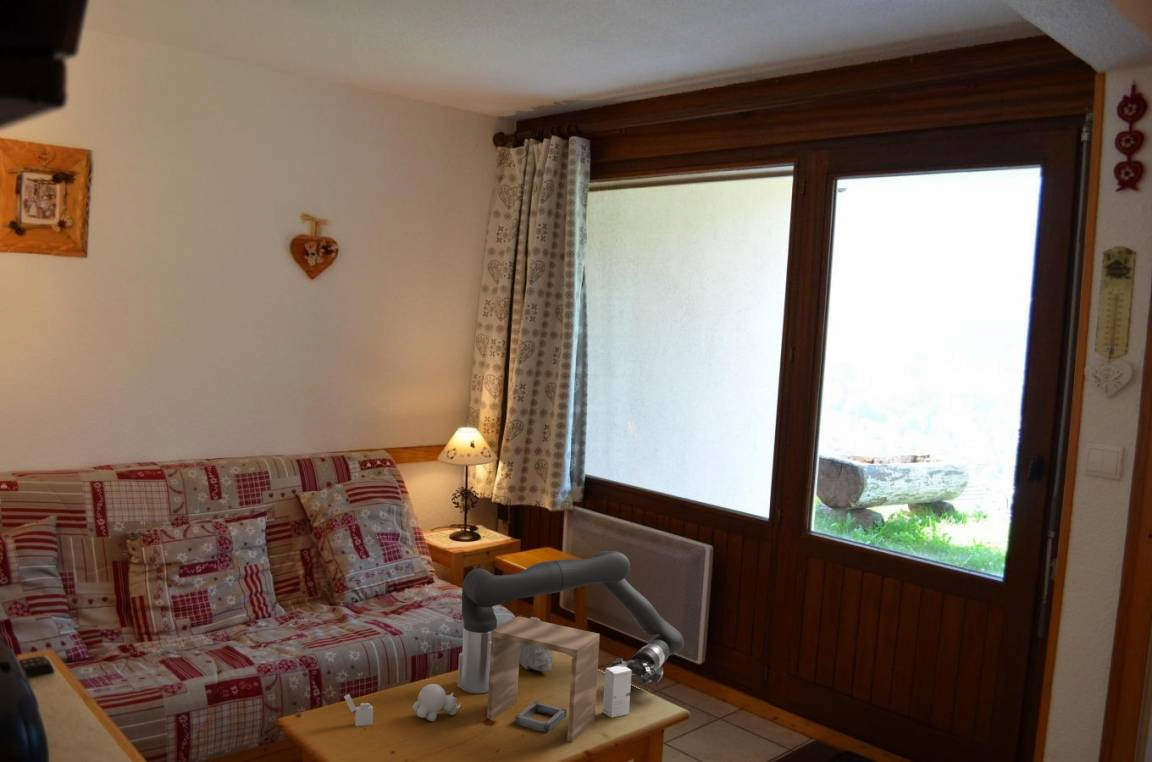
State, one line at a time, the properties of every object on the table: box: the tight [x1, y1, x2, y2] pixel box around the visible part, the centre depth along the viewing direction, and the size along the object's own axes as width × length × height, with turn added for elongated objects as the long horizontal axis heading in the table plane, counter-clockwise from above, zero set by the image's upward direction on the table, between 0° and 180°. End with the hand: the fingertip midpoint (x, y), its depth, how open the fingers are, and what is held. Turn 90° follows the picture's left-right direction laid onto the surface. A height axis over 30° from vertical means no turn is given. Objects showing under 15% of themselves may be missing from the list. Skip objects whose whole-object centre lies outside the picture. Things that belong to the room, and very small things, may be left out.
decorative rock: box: [519, 616, 554, 672], centre depth 268 cm, size 16×7×15 cm, turn 31°
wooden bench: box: [486, 615, 601, 744], centre depth 232 cm, size 24×14×24 cm, turn 65°
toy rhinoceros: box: [411, 683, 461, 722], centre depth 231 cm, size 7×12×8 cm, turn 114°
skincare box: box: [602, 665, 632, 718], centre depth 240 cm, size 6×4×12 cm
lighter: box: [343, 693, 374, 727], centre depth 224 cm, size 7×2×8 cm, turn 113°
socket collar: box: [514, 701, 567, 734], centre depth 233 cm, size 9×11×2 cm
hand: (627, 678), depth 247 cm, fingers open, 8 cm apart
